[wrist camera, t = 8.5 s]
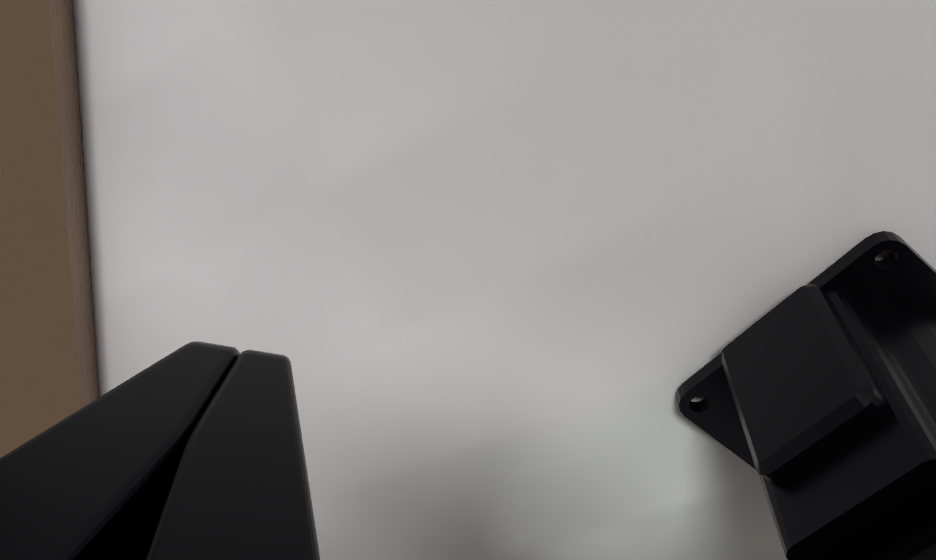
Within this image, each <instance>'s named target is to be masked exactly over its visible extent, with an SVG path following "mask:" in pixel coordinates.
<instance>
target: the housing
mask: <svg viewBox="0 0 936 560" xmlns="http://www.w3.org/2000/svg"><path fill="white" fill-rule="evenodd" d="M98 398H99V392H98V377H97V363H96V348H95V333H94V318H93V303H92V288H91V273H90V258H89V244H88V229H87V214H86V199H85V184H84V169H83V154H82V139H81V125H80V110H79V95H78V80H77V65H76V50H75V35H74V20H73V6H72V0H0V458H1V457H3V456H4V455H6V454H8V453H9V452H11V451H13V450H14V449H16V448H17V447H19V446H21V445H22V444H24V443H26V442H27V441H29V440H31V439H32V438H34V437H35V436H37V435H39V434H40V433H42V432H44V431H45V430H47V429H48V428H50V427H52V426H53V425H55V424H57V423H58V422H60V421H62V420H63V419H65V418H66V417H68V416H70V415H71V414H73V413H75V412H76V411H78V410H80V409H81V408H83V407H84V406H86V405H88V404H89V403H91V402H93V401H94V400H96V399H98Z"/></svg>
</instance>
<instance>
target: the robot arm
mask: <svg viewBox="0 0 936 560" xmlns="http://www.w3.org/2000/svg"><path fill="white" fill-rule="evenodd" d="M884 250H892V252H891V254H890V255H889V256H888V257H887V258H886V259H884V260H880V261H875V257H876V256H877V255H878V254H879V253H880V252H882V251H884ZM676 396H677V400H678V404H679V409H680V412H681V413H682V414H683V415H684V416H685V417H686V418H688V419H689V420H690V421H692V422H693V423H694V424H696V425H697V426H698V427H700V428H701V429H702V430H704V431H705V432H706V433H708V434H709V435H710V436H712V437H713V438H714V439H716V440H717V441H718V442H720V443H721V444H722V445H724V446H725V447H726V448H728V449H729V450H731V451H732V452H733V453H735V454H736V455H737V456H739V457H740V458H741V459H743V460H744V461H745V462H747V463H748V464H749V465H751V466H752V467H753V468H755V469H756V470H757V472H758V473H759V475H760V478H761V481H762V484H763V487H764V490H765V493H766V497H767V500H768V503H769V506H770V509H771V512H772V515H773V518H774V521H775V524H776V528H777V531H778V534H779V537H780V540H781V543H782V546H783V549H784V552H785V555H786V558H787V559H788V560H936V270H935V269H934V268H933V267H932V266H931V265H929V264H928V263H927V262H926V261H925V260H924V259H923V258H922V257H921V256H920V255H919V254H918V253H917V252H915V251H914V250H913V249H912V248H911V247H910V246H909V245H908V244H907V243H906V242H905V241H904V240H903V239H902V238H900V237H899V236H898V235H896V234H894V233H893V232H885V231H882V232H878V233H874V234H872V235H870V236H869V237H867V238H865V239H864V240H863V241H862V242H860V243H859V244H858V245H857V246H855V247H854V248H853V249H851V250H850V251H849V252H848V253H846V254H845V255H844V256H843V257H841V258H840V259H839V260H838V261H836V262H835V263H834V264H833V265H831V266H830V267H829V268H828V269H826V270H825V271H824V272H823V273H821V274H820V275H819V276H818V277H816V278H815V279H814V280H812V281H811V282H810V283H809V284H807V285H805V286H802V287H800V288H799V289H797V290H796V291H795V292H794V293H792V294H791V295H790V296H789V297H787V298H786V299H785V300H784V301H782V302H781V303H780V304H779V305H777V306H776V307H775V308H774V309H772V310H771V311H770V312H769V313H767V314H766V315H765V316H763V317H762V318H761V319H760V320H758V321H757V322H756V323H755V324H753V325H752V326H751V327H750V328H748V329H747V330H746V331H745V332H743V333H742V334H741V335H740V336H738V337H737V338H736V339H735V340H733V341H732V342H731V343H730V344H728V345H727V346H726V347H725V348H724V349H723V351H722V353H721V354H719V355H718V356H717V357H716V358H714V359H713V360H712V361H710V362H709V363H708V364H707V365H705V366H704V367H703V368H702V369H700V370H699V371H698V372H697V373H695V374H694V375H693V376H692V377H690V378H689V379H688V380H687V381H685V382H684V383H683V384H682V385H681V386H680V387H679V388H678V391H677V394H676ZM697 396H703V397H705V399H704V400H702V401H700V402H692V401H691V399H693V398H695V397H697ZM0 560H320V555H319V548H318V542H317V535H316V528H315V522H314V515H313V508H312V502H311V495H310V488H309V482H308V475H307V468H306V462H305V455H304V448H303V442H302V435H301V428H300V422H299V415H298V408H297V402H296V395H295V388H294V382H293V375H292V368H291V362H290V360H289V358H287V357H286V356H284V355H279V354H273V353H266V352H260V351H254V350H246V351H243V352H241V354H240V353H239V351H238V350H237V349H236V348H234V347H229V346H223V345H217V344H211V343H204V342H191V343H188V344H186V345H184V346H183V347H181V348H179V349H178V350H176V351H174V352H173V353H171V354H170V355H168V356H166V357H165V358H163V359H161V360H160V361H158V362H156V363H155V364H153V365H152V366H150V367H148V368H147V369H145V370H143V371H142V372H140V373H138V374H137V375H135V376H134V377H132V378H130V379H129V380H127V381H125V382H124V383H122V384H120V385H119V386H117V387H116V388H114V389H112V390H111V391H109V392H107V393H106V394H104V395H102V396H101V397H99V398H98V399H96V400H94V401H93V402H91V403H89V404H88V405H86V406H84V407H83V408H81V409H80V410H78V411H76V412H75V413H73V414H71V415H70V416H68V417H66V418H65V419H63V420H62V421H60V422H58V423H57V424H55V425H53V426H52V427H50V428H48V429H47V430H45V431H44V432H42V433H40V434H39V435H37V436H35V437H34V438H32V439H31V440H29V441H27V442H26V443H24V444H22V445H21V446H19V447H17V448H16V449H14V450H13V451H11V452H9V453H8V454H6V455H4V456H3V457H1V458H0Z"/></svg>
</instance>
